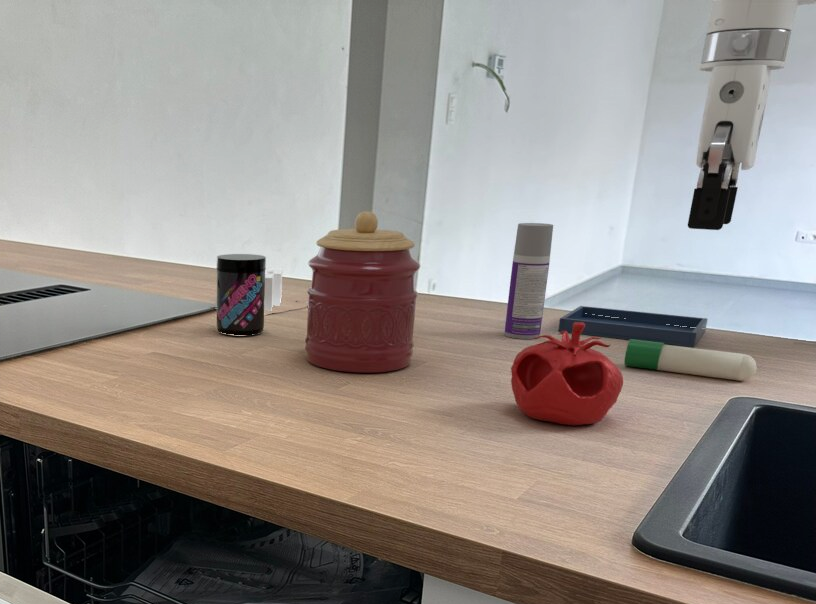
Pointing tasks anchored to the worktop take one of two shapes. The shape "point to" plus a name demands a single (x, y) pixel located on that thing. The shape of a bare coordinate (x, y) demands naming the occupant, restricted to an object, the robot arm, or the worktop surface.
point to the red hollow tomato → (565, 380)
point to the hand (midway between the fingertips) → (709, 226)
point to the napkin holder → (273, 288)
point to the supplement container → (240, 293)
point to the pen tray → (636, 325)
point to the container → (528, 280)
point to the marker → (689, 360)
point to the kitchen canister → (362, 299)
